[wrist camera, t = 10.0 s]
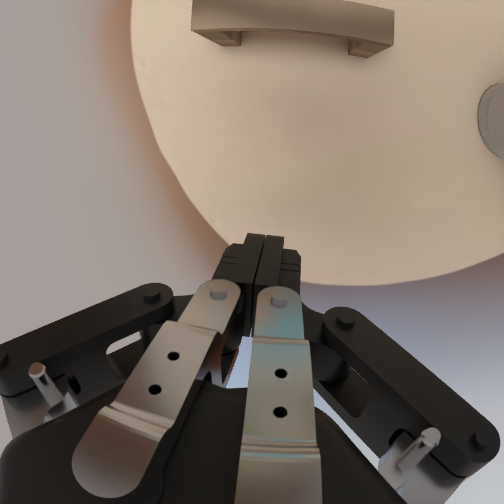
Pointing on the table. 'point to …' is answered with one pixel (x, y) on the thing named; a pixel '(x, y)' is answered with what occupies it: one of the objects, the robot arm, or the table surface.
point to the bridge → (296, 21)
